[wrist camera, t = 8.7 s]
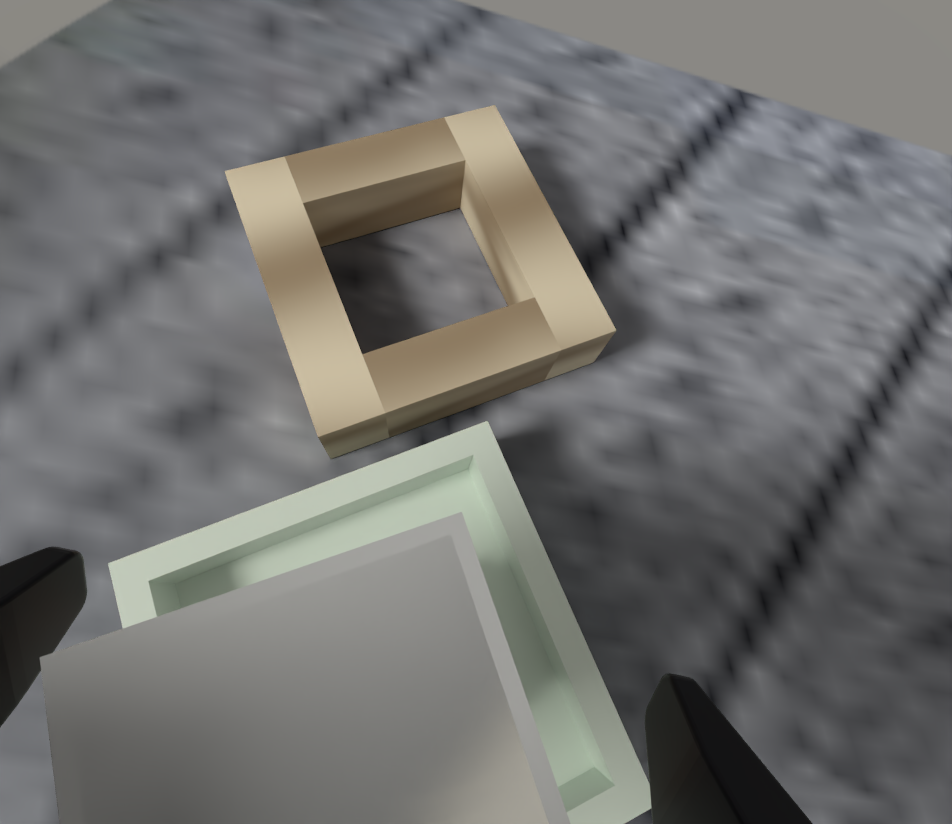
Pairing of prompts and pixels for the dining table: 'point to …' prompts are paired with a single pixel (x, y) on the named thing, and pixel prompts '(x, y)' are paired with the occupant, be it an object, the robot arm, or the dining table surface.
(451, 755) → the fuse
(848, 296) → the dining table surface
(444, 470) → the tray
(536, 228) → the collar block
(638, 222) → the dining table surface
